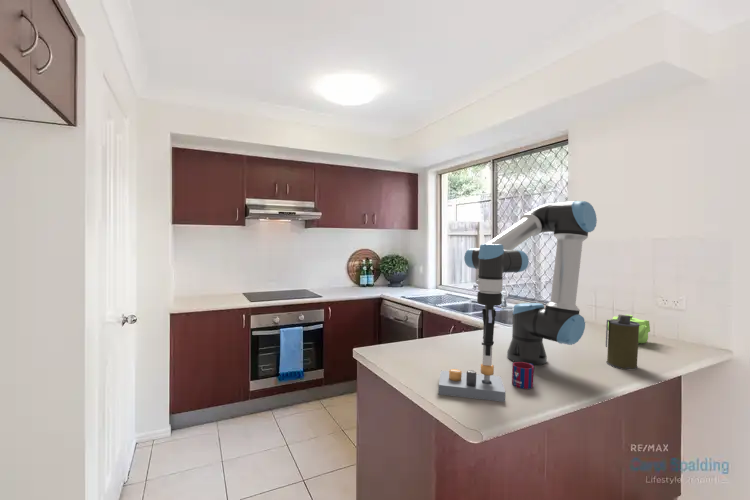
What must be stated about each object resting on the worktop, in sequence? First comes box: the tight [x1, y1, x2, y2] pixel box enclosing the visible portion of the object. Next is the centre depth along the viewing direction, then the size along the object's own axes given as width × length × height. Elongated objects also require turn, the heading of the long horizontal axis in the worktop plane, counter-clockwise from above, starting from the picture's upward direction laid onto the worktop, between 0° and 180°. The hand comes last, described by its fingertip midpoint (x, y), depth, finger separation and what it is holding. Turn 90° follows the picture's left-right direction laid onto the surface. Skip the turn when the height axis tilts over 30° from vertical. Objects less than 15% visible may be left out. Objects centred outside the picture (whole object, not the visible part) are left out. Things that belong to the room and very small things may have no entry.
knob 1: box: [448, 368, 463, 381], centre depth 121 cm, size 4×4×6 cm
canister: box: [605, 314, 640, 370], centre depth 147 cm, size 11×10×20 cm
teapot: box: [608, 314, 651, 344], centre depth 180 cm, size 18×20×13 cm
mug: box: [511, 361, 535, 390], centre depth 126 cm, size 7×10×7 cm
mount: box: [438, 370, 506, 403], centre depth 120 cm, size 20×13×3 cm, turn 77°
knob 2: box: [480, 363, 495, 383], centre depth 119 cm, size 4×4×5 cm
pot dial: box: [466, 370, 477, 387], centre depth 117 cm, size 3×3×4 cm
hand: (487, 364), depth 119 cm, fingers closed
